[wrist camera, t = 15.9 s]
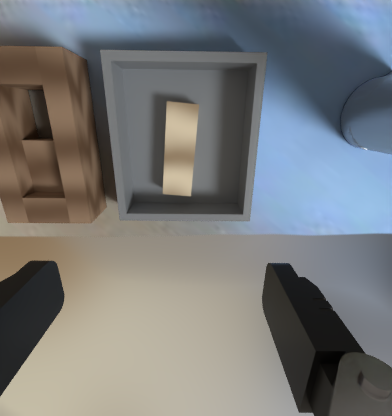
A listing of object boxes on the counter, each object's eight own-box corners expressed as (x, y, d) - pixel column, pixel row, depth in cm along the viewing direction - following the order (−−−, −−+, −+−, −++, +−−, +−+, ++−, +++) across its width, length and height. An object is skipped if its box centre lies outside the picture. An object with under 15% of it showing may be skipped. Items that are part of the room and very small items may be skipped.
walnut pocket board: (-1, 58, 30) (-47, 44, 24) (86, 60, 30) (61, 46, 24) (36, 206, 37) (8, 222, 31) (106, 207, 37) (91, 223, 31)
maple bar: (168, 102, 31) (166, 101, 29) (198, 105, 31) (199, 104, 29) (164, 188, 35) (162, 193, 33) (191, 191, 36) (190, 196, 33)
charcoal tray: (114, 60, 30) (99, 49, 25) (255, 62, 30) (267, 52, 25) (129, 207, 37) (119, 220, 32) (242, 208, 37) (249, 221, 32)
